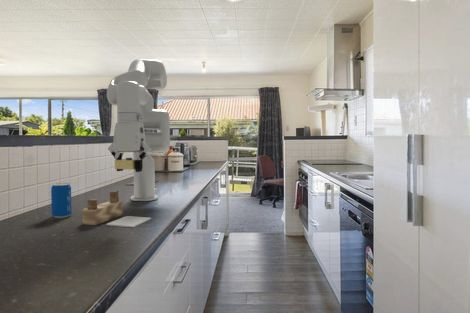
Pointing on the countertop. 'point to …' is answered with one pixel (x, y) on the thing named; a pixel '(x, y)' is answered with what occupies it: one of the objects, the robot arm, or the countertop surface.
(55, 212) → the beverage can
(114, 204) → the plane body
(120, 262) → the countertop surface
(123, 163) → the lever cap
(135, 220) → the mat
